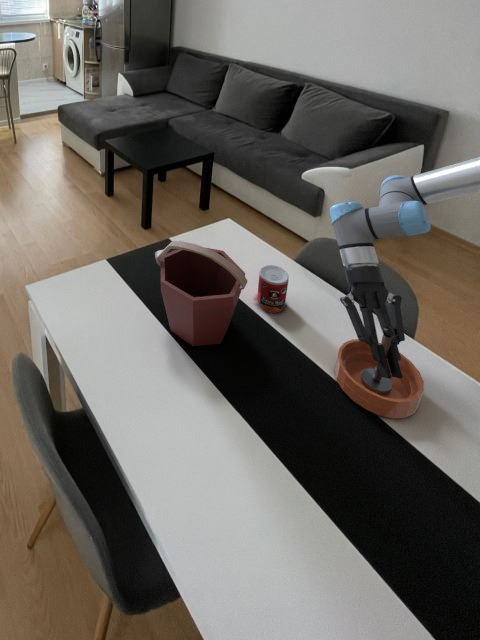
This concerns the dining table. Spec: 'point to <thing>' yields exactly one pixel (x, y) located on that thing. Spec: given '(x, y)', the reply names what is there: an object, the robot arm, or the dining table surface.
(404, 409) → the bowl
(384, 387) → the ring stacker peg
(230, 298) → the bucket
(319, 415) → the dining table surface
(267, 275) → the canned food
